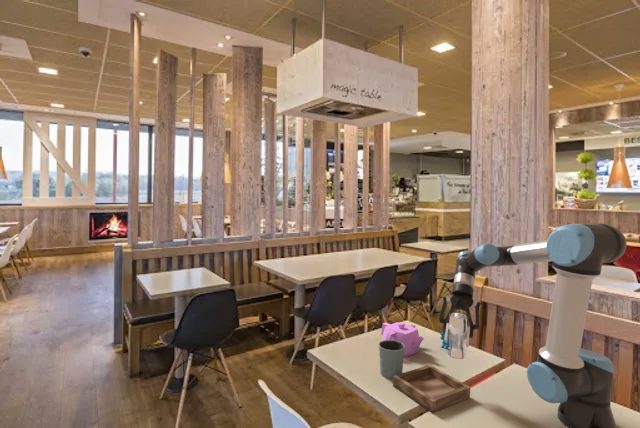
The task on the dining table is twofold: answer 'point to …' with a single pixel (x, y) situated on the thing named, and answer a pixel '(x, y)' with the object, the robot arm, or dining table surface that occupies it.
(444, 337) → the teal spiky toy
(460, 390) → the tray
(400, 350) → the grey green cup
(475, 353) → the dining table surface
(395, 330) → the teakettle
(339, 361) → the dining table surface
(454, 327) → the beer glass
